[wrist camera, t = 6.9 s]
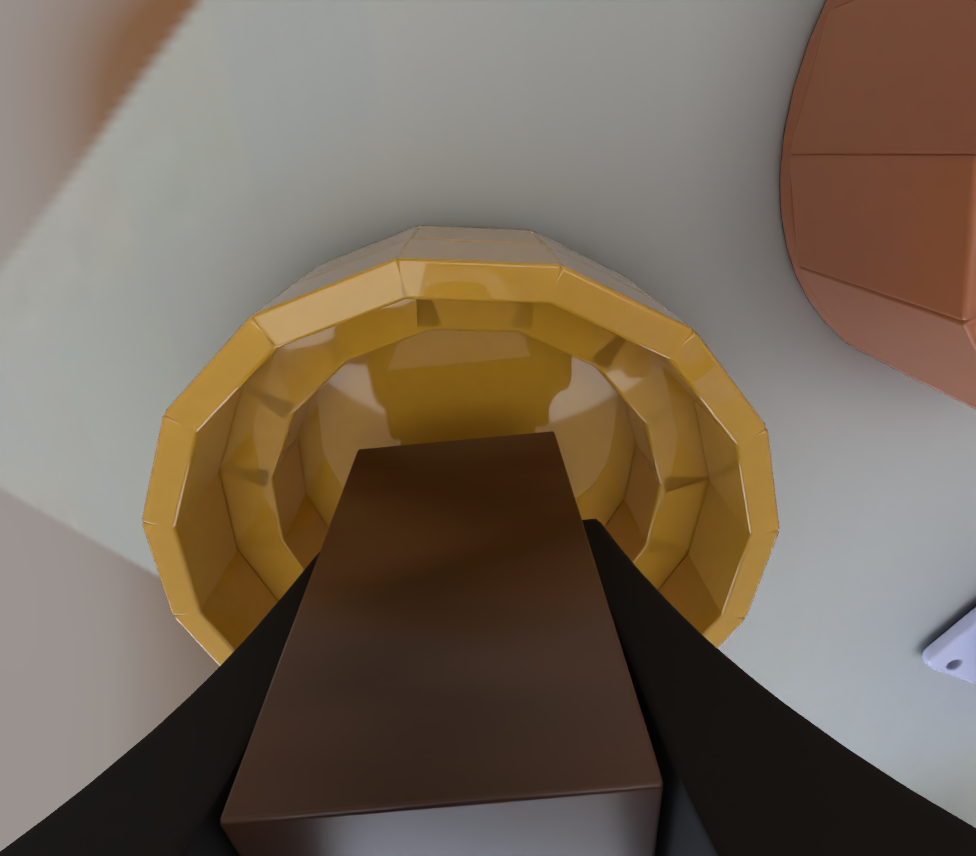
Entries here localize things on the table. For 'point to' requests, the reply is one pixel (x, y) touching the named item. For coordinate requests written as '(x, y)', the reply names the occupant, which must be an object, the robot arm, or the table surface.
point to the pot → (889, 184)
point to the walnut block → (451, 675)
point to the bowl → (458, 421)
